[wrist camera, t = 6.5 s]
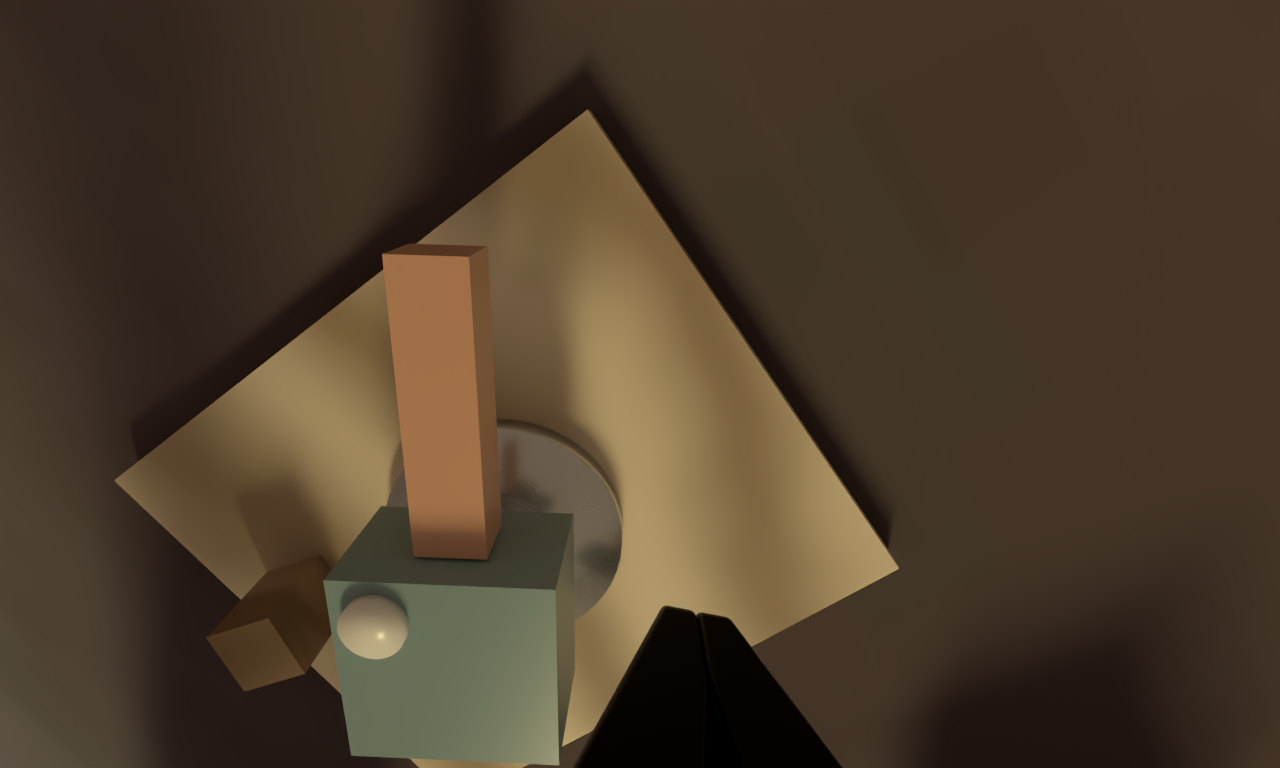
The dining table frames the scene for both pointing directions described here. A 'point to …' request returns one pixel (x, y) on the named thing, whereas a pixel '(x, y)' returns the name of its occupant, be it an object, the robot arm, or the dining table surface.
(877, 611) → the dining table surface
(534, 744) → the cap
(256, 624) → the block
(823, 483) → the board
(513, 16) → the dining table surface
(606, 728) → the robot arm
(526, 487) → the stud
